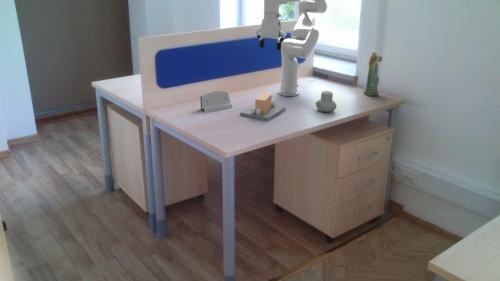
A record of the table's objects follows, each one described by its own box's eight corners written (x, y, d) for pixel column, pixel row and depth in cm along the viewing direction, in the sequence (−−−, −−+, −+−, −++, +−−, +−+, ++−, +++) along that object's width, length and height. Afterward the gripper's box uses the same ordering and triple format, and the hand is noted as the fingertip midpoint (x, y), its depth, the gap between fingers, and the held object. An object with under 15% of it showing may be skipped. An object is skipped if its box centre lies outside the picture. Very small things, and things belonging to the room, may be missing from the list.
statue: (380, 94, 283) (385, 52, 273) (370, 96, 278) (375, 54, 269) (372, 91, 288) (377, 50, 278) (361, 93, 284) (366, 51, 274)
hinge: (204, 112, 248) (201, 92, 247) (200, 112, 252) (197, 93, 251) (232, 107, 256) (229, 88, 255) (228, 107, 260) (225, 89, 259)
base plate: (258, 104, 261) (258, 96, 259) (285, 109, 253) (285, 101, 252) (240, 115, 244) (240, 106, 243) (267, 120, 237) (268, 112, 235)
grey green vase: (313, 108, 257) (315, 90, 253) (327, 106, 260) (329, 89, 256) (323, 114, 248) (325, 96, 244) (337, 113, 250) (339, 94, 247)
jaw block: (262, 105, 254) (262, 93, 252) (271, 106, 253) (271, 94, 250) (255, 112, 244) (255, 99, 241) (264, 113, 242) (265, 100, 240)
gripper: (289, 16, 245) (288, 49, 252) (259, 13, 253) (259, 45, 260) (283, 18, 239) (282, 52, 246) (252, 15, 247) (252, 48, 254)
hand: (270, 48), depth 253 cm, fingers open, 9 cm apart
